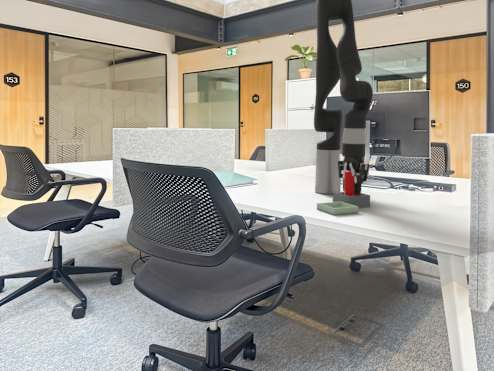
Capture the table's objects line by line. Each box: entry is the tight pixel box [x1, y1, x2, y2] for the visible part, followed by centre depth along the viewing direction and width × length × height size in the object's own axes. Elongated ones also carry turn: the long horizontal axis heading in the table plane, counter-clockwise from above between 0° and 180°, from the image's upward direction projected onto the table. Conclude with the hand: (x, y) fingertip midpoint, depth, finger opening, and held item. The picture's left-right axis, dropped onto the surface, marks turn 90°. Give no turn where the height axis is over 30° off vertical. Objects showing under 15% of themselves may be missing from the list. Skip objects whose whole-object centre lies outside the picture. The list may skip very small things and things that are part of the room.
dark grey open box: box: [332, 191, 371, 209], centre depth 139 cm, size 9×9×4 cm
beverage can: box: [343, 170, 360, 196], centre depth 138 cm, size 5×5×12 cm
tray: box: [316, 201, 360, 216], centre depth 130 cm, size 9×9×2 cm
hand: (351, 192), depth 139 cm, fingers open, 5 cm apart
